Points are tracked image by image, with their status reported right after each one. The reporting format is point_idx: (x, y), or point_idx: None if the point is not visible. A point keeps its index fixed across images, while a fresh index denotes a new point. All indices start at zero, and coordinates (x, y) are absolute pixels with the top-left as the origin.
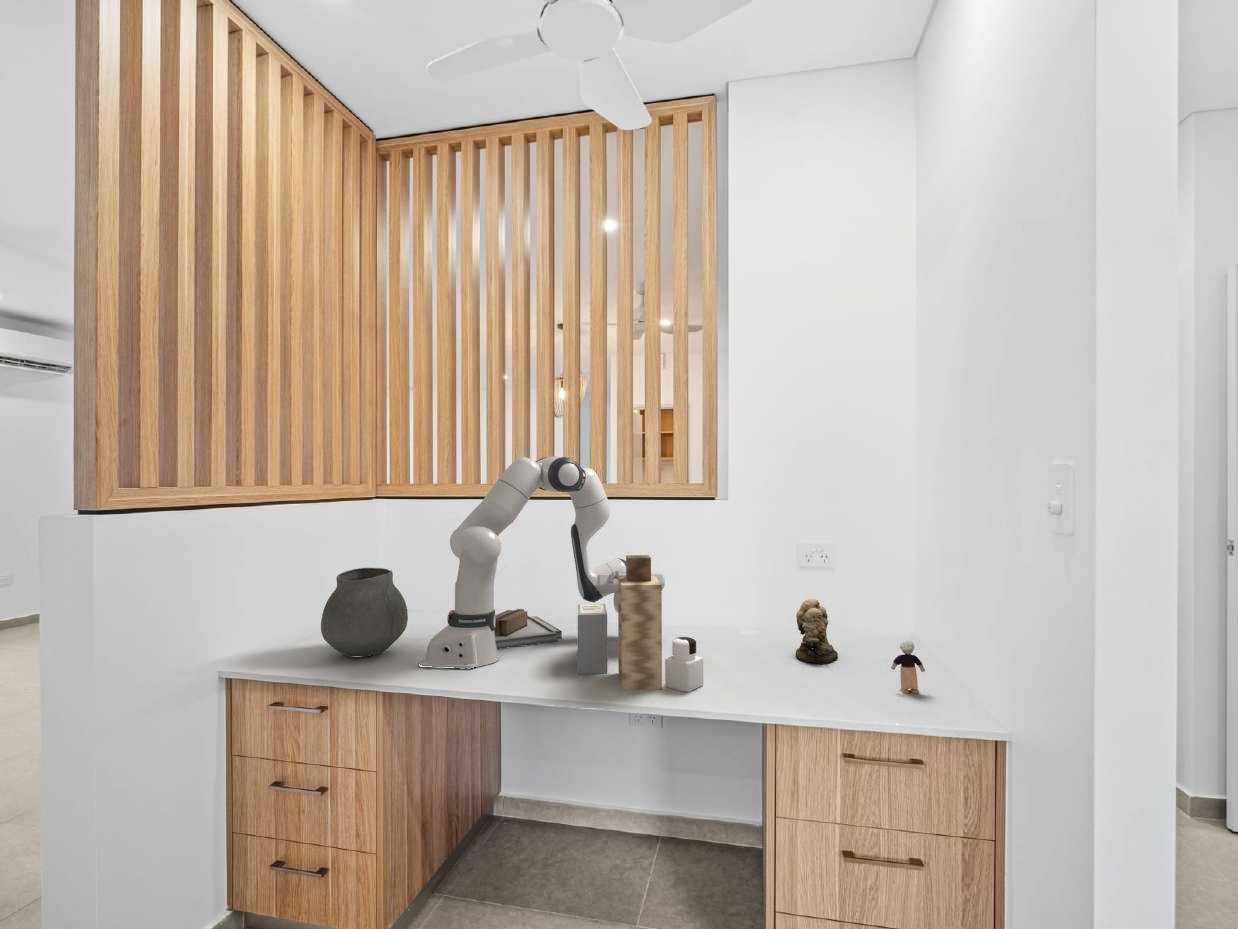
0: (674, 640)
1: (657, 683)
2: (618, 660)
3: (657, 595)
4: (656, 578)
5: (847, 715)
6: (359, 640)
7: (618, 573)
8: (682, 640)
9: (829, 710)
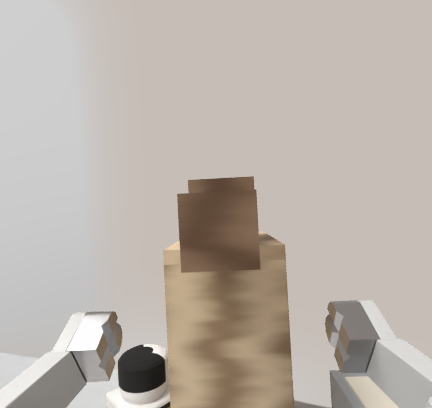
0: (164, 351)
1: None
2: None
3: None
4: (173, 244)
5: (21, 361)
6: None
7: (333, 320)
8: (151, 345)
9: (22, 370)
